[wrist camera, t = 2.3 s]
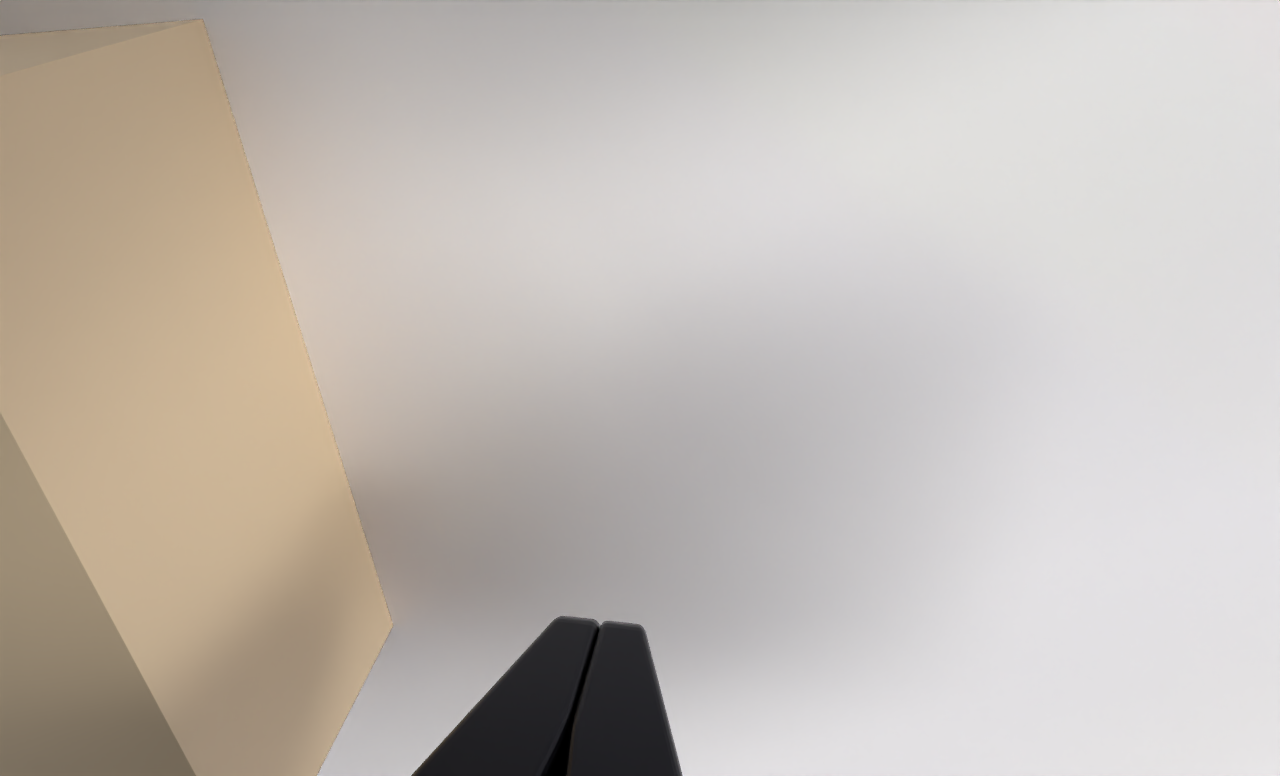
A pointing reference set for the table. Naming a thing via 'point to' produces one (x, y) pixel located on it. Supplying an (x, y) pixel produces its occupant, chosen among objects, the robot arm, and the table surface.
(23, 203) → the carton
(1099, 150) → the table surface
